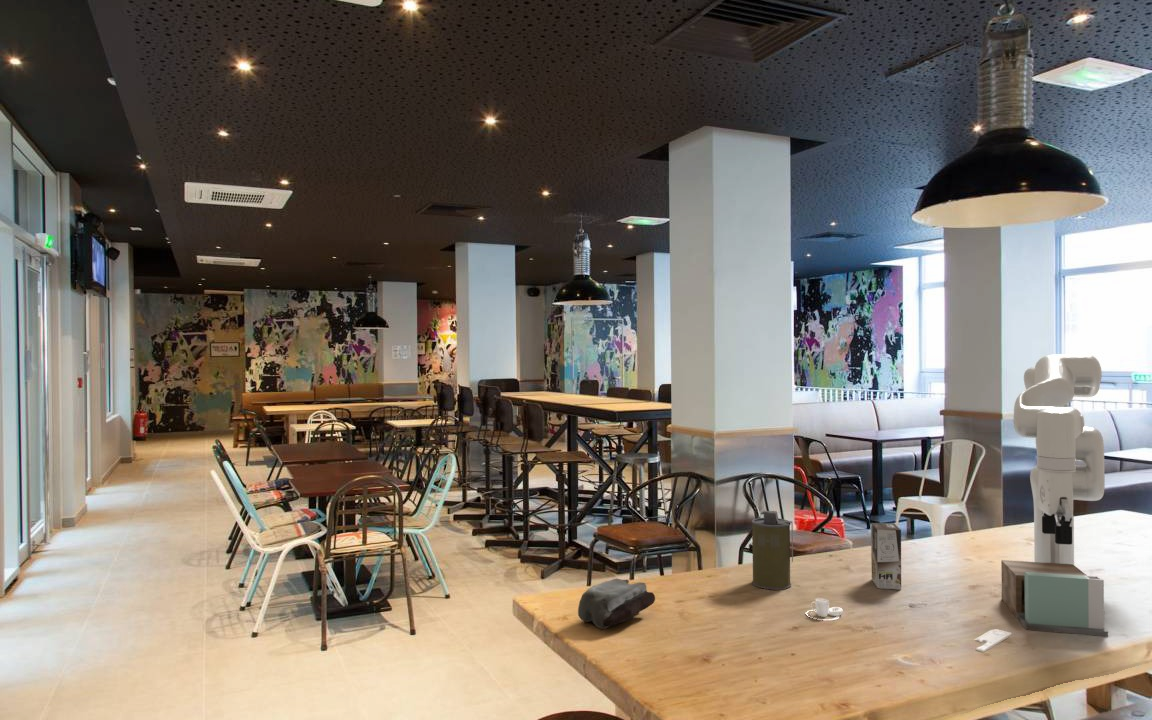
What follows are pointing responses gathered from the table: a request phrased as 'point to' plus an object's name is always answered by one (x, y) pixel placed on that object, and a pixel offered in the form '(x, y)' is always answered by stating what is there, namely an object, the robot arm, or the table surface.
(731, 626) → the table surface
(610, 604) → the rock
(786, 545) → the canister
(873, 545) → the coffee box
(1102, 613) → the green and grey box
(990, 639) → the white plastic blade
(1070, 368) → the robot arm
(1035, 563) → the cabinet
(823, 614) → the teacup and saucer
